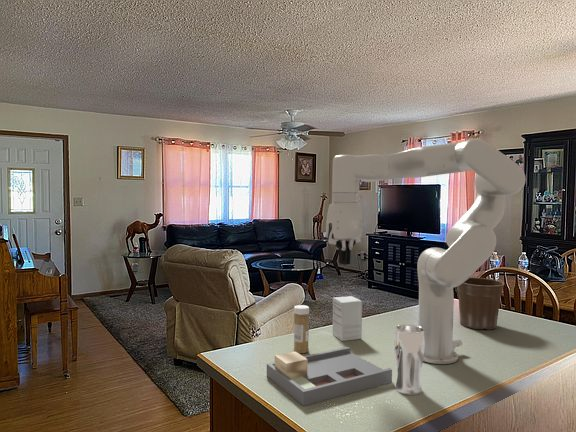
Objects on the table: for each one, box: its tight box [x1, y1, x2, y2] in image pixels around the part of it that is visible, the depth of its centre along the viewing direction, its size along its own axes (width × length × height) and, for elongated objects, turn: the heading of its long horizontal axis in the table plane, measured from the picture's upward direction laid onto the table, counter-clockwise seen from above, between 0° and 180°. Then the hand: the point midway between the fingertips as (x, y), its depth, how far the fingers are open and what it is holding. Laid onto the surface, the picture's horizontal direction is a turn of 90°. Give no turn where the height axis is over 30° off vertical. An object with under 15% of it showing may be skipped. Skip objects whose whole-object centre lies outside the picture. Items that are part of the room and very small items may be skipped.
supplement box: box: [332, 295, 363, 342], centre depth 142 cm, size 7×7×13 cm
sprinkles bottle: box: [293, 304, 310, 354], centre depth 129 cm, size 5×5×13 cm
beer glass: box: [394, 323, 425, 396], centre depth 104 cm, size 7×7×15 cm
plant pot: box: [456, 276, 505, 331], centre depth 156 cm, size 16×16×16 cm
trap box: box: [266, 346, 393, 407], centre depth 110 cm, size 26×18×3 cm
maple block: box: [274, 351, 308, 379], centre depth 108 cm, size 6×6×4 cm
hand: (344, 263), depth 123 cm, fingers closed
